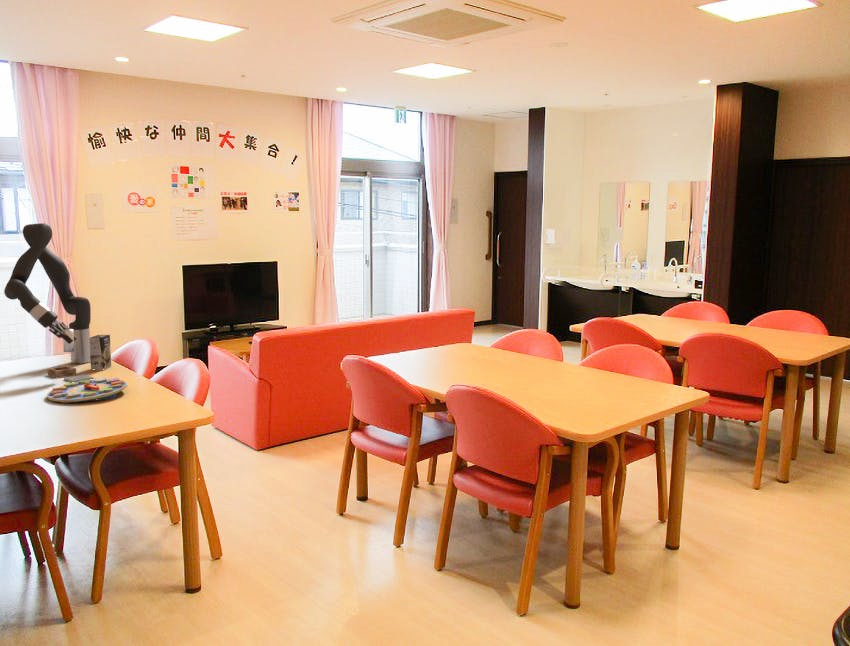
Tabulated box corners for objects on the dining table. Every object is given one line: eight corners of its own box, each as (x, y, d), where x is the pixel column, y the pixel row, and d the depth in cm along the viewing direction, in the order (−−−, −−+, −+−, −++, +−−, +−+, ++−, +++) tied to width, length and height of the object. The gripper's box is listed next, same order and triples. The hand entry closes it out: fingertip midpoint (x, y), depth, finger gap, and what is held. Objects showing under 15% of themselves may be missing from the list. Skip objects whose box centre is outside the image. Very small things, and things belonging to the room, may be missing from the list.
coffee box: (103, 370, 348) (102, 337, 346) (90, 370, 348) (88, 337, 346) (112, 366, 357) (110, 334, 355) (99, 366, 357) (97, 334, 355)
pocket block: (67, 371, 344) (66, 365, 344) (76, 374, 338) (76, 368, 338) (47, 375, 337) (47, 368, 337) (56, 377, 331) (56, 371, 331)
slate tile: (83, 376, 334) (83, 374, 334) (93, 379, 329) (93, 377, 329) (64, 380, 327) (64, 377, 327) (73, 383, 322) (73, 380, 322)
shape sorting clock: (47, 391, 308) (46, 377, 307) (124, 384, 322) (123, 371, 321) (46, 408, 281) (45, 393, 280) (131, 400, 295) (130, 386, 294)
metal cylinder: (71, 350, 332) (70, 328, 330) (76, 351, 329) (75, 329, 328) (61, 351, 328) (60, 329, 327) (66, 352, 325) (65, 330, 324)
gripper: (43, 311, 318) (74, 338, 321) (55, 307, 332) (84, 333, 335) (31, 323, 318) (62, 350, 321) (43, 318, 332) (72, 344, 335)
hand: (73, 341), depth 328 cm, fingers closed on metal cylinder, 4 cm apart
